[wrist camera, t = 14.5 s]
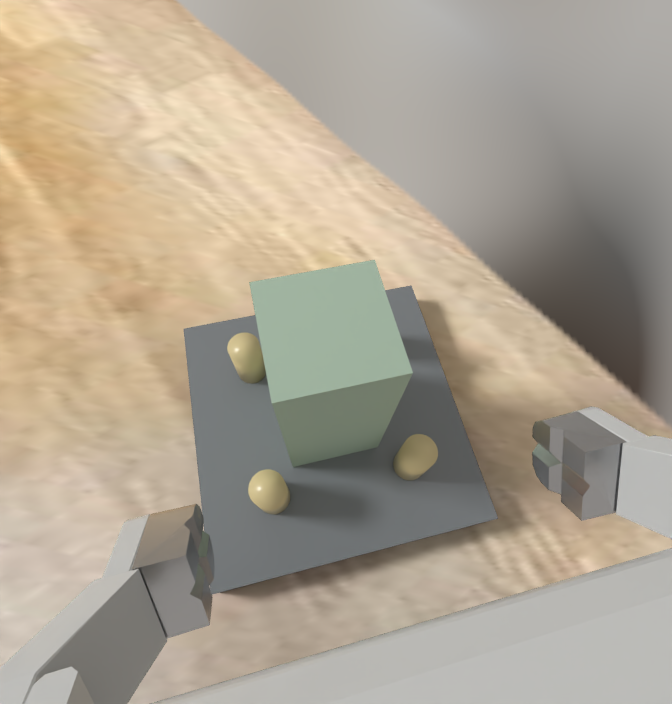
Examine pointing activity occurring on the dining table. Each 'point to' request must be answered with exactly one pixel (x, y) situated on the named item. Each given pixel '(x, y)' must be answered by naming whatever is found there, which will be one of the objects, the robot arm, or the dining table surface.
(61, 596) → the dining table surface
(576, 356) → the dining table surface
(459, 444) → the plate
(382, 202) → the dining table surface
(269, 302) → the green block
